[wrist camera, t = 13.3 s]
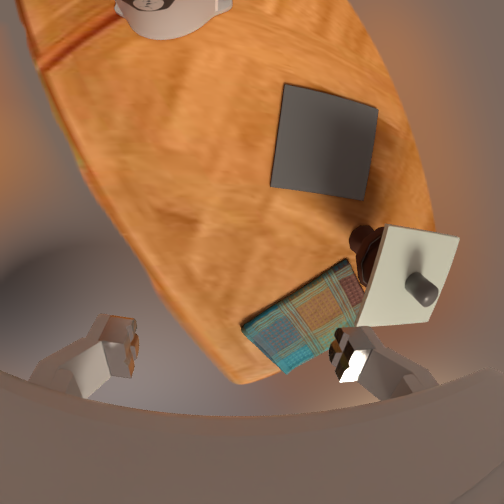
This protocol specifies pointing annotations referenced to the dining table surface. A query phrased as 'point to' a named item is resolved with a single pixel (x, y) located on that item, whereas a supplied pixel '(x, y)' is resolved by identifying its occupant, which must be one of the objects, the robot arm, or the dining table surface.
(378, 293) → the lid
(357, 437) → the robot arm
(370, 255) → the ice cream bowl
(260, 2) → the dining table surface
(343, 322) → the dish towel
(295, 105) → the mat
